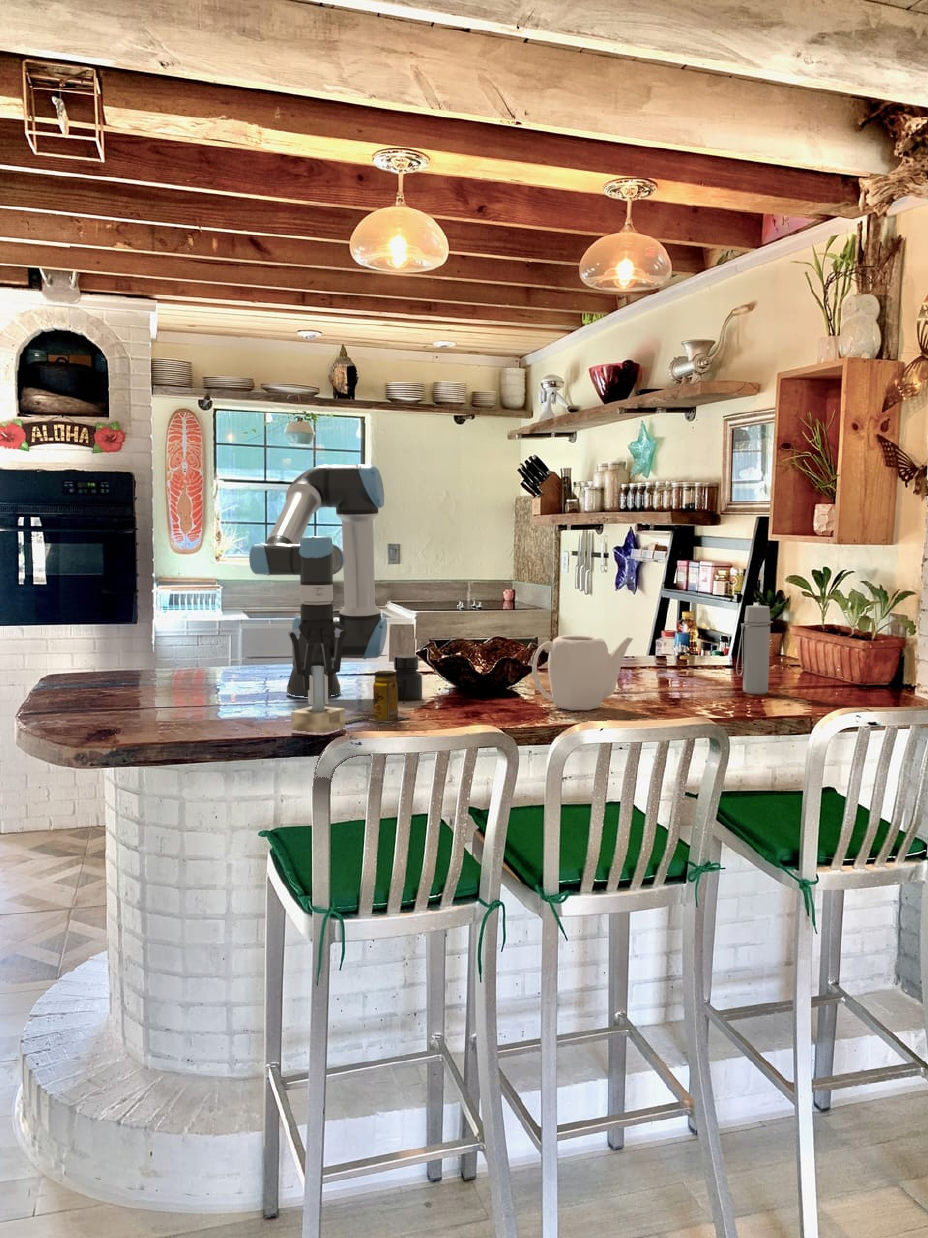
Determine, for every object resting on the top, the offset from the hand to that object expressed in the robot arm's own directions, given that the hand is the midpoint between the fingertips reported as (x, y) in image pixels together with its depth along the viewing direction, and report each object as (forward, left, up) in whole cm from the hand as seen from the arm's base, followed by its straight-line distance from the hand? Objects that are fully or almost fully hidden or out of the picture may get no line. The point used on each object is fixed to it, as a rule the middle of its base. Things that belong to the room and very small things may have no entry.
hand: (318, 703), depth 225 cm
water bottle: (+81, +100, -7) cm, 129 cm away
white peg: (0, 0, -5) cm, 5 cm away
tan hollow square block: (0, 0, -7) cm, 7 cm away
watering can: (+45, +56, -7) cm, 72 cm away
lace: (+1, +12, -7) cm, 14 cm away
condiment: (+7, +20, -7) cm, 22 cm away
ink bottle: (-3, +46, -7) cm, 47 cm away
